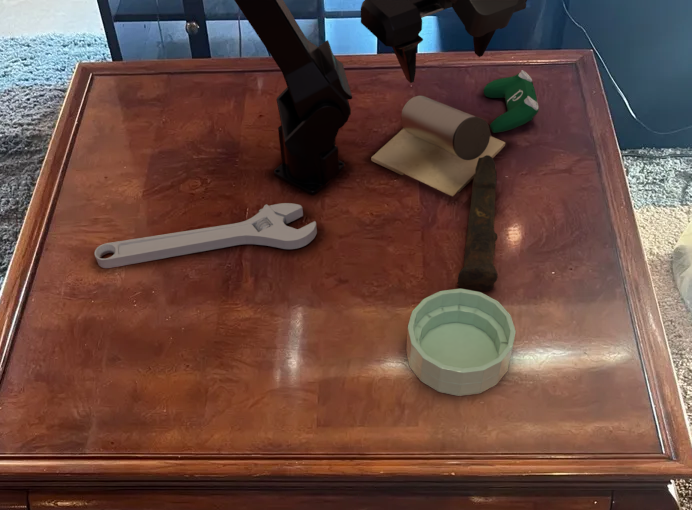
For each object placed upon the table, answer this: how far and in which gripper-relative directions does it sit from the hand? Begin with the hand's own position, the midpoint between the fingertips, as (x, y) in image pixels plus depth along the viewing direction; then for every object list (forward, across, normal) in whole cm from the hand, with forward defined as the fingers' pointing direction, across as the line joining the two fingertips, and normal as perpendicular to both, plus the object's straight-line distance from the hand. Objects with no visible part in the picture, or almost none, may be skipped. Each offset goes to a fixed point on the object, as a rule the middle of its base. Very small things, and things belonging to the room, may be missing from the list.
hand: (444, 67), depth 91 cm
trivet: (+12, 0, 0) cm, 12 cm away
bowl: (+12, -16, -27) cm, 34 cm away
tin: (+10, 0, +5) cm, 11 cm away
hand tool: (+12, -4, -14) cm, 19 cm away
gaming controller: (+13, +12, +2) cm, 18 cm away
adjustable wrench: (+12, -31, +1) cm, 33 cm away
